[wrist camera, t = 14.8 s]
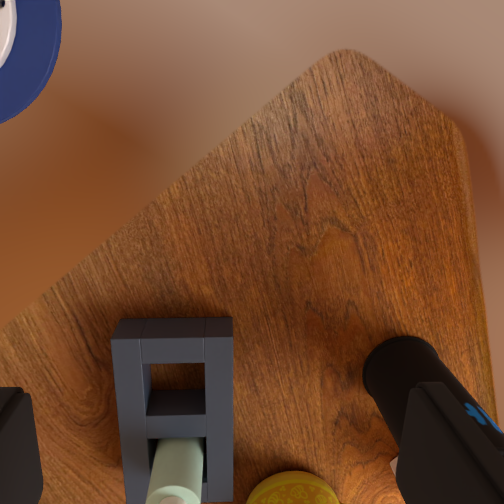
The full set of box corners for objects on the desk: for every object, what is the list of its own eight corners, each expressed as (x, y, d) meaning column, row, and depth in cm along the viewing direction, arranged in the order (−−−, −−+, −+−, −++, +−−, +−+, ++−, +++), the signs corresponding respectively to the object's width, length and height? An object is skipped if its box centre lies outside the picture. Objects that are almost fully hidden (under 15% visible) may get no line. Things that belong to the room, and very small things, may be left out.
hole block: (134, 474, 48) (126, 506, 44) (120, 318, 42) (109, 339, 38) (232, 471, 49) (233, 501, 45) (232, 316, 43) (233, 336, 39)
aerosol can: (390, 416, 48) (499, 619, 29) (346, 367, 46) (433, 553, 27) (453, 372, 47) (611, 554, 28) (411, 320, 44) (552, 479, 25)
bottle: (160, 453, 48) (142, 550, 37) (158, 416, 46) (139, 507, 36) (205, 452, 48) (199, 548, 37) (204, 415, 46) (198, 504, 36)
